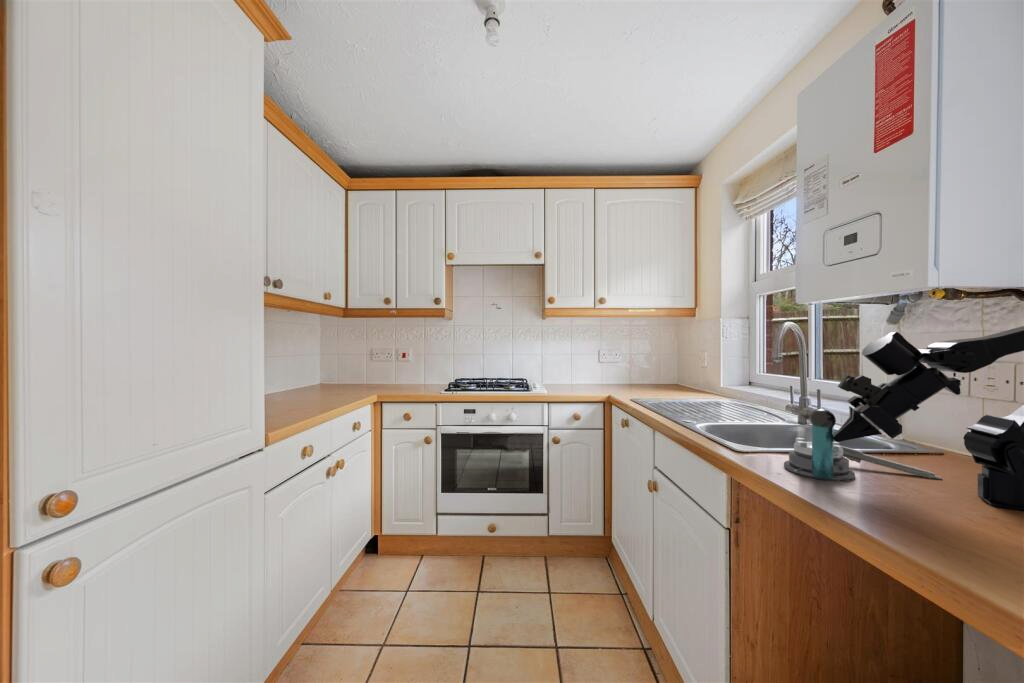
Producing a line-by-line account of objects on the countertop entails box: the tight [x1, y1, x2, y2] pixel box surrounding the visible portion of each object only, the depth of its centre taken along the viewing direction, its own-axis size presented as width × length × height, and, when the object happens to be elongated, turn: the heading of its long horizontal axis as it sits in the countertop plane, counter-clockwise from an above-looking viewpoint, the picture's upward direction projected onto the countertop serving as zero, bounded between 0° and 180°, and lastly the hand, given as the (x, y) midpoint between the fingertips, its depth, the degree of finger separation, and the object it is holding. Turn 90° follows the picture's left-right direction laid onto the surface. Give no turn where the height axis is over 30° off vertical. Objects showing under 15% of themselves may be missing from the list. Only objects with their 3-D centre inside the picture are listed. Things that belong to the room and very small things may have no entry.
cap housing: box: [783, 449, 856, 482], centre depth 93 cm, size 13×13×4 cm
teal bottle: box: [793, 408, 843, 479], centre depth 90 cm, size 9×16×14 cm, turn 148°
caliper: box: [841, 445, 943, 480], centre depth 94 cm, size 20×1×6 cm, turn 54°
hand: (834, 439), depth 85 cm, fingers closed
